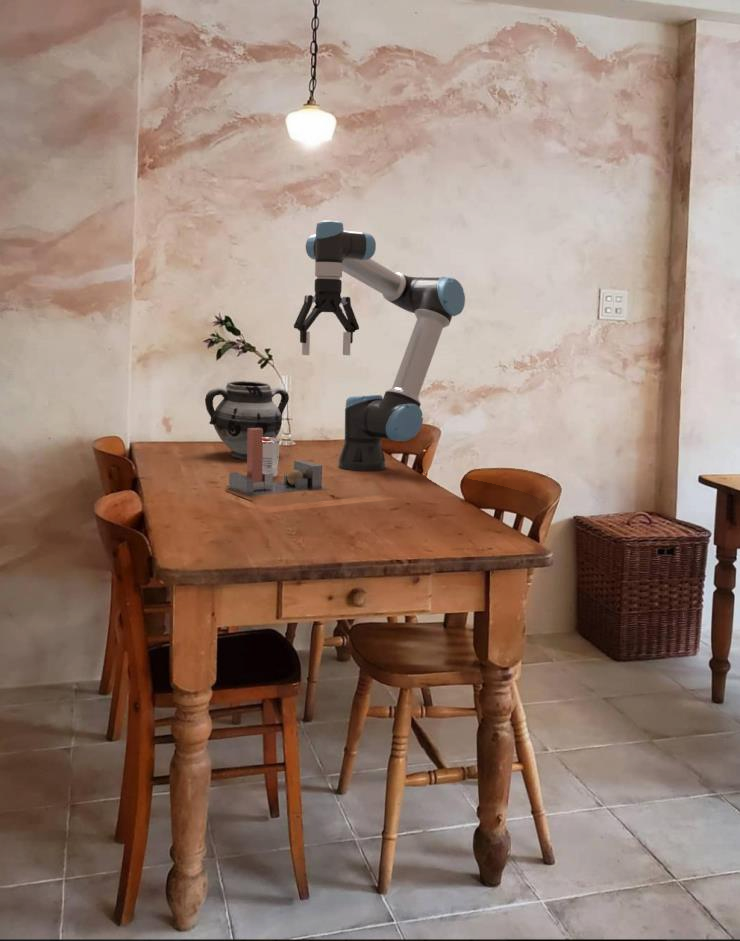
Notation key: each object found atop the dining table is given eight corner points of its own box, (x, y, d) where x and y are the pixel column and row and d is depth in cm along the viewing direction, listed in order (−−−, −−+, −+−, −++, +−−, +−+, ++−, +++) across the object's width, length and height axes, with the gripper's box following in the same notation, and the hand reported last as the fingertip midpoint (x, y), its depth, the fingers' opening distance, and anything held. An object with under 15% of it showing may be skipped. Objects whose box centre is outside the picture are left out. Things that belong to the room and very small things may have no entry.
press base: (302, 484, 264) (302, 458, 263) (328, 493, 253) (329, 466, 251) (225, 491, 250) (225, 464, 249) (249, 501, 239) (250, 472, 238)
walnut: (297, 483, 257) (298, 468, 256) (306, 486, 254) (306, 470, 253) (284, 484, 255) (284, 469, 254) (292, 487, 251) (292, 471, 250)
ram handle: (264, 485, 251) (265, 427, 249) (272, 488, 248) (273, 429, 245) (242, 487, 247) (242, 428, 245) (249, 490, 244) (250, 430, 241)
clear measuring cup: (273, 484, 264) (274, 442, 262) (245, 482, 265) (245, 440, 263) (283, 478, 273) (284, 437, 271) (256, 476, 275) (257, 436, 273)
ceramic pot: (276, 450, 326) (277, 379, 322) (299, 460, 306) (301, 384, 302) (195, 453, 314) (196, 379, 310) (214, 464, 294) (215, 385, 289)
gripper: (357, 280, 268) (355, 354, 272) (282, 276, 254) (281, 354, 257) (372, 280, 262) (370, 355, 266) (296, 276, 248) (294, 355, 251)
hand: (326, 355), depth 262 cm, fingers open, 13 cm apart
